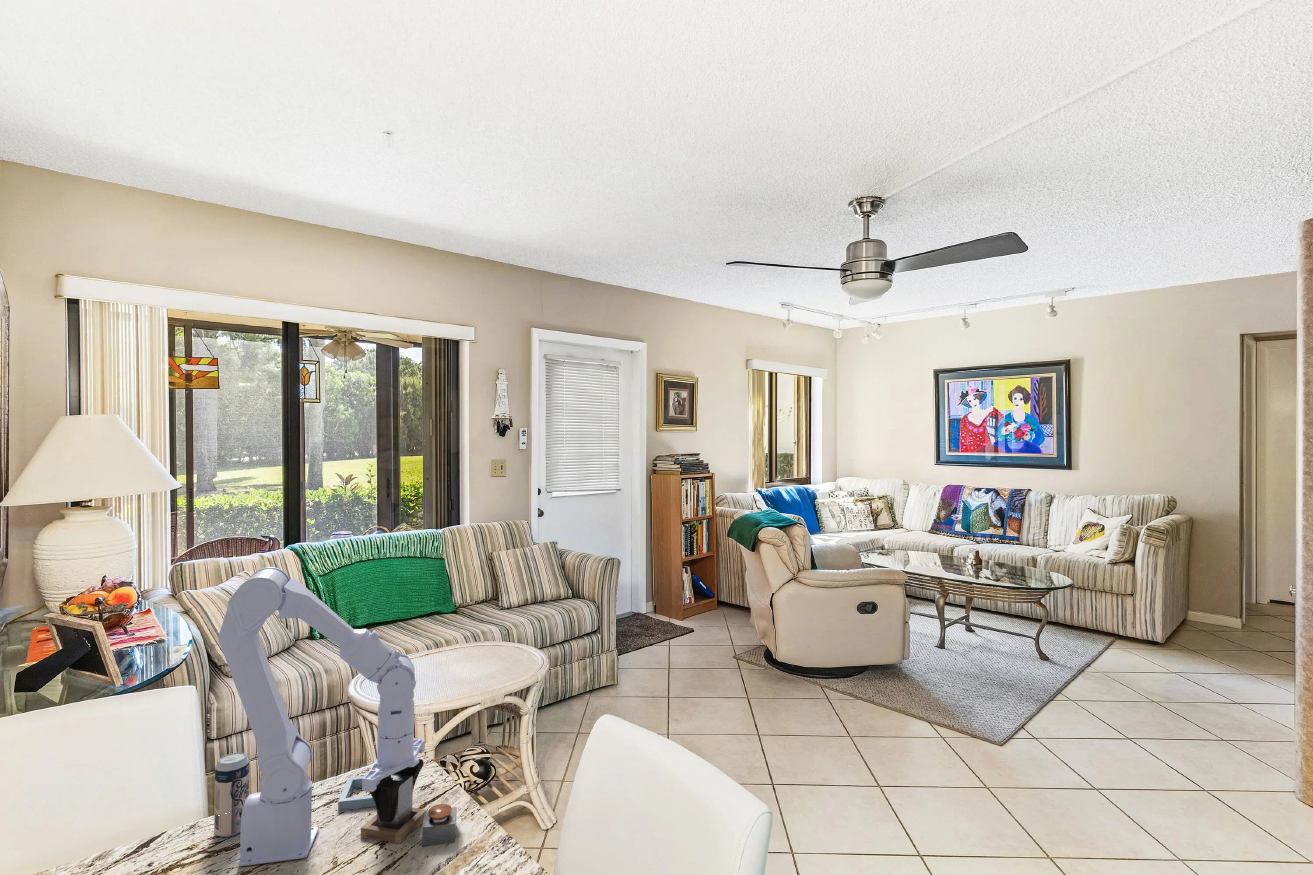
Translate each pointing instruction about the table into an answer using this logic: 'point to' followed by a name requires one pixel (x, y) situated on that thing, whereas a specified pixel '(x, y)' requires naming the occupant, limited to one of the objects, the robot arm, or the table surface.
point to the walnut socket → (390, 834)
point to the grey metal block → (401, 803)
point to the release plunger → (439, 813)
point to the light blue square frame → (354, 801)
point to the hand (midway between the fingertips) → (394, 813)
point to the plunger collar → (439, 830)
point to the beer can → (230, 793)
